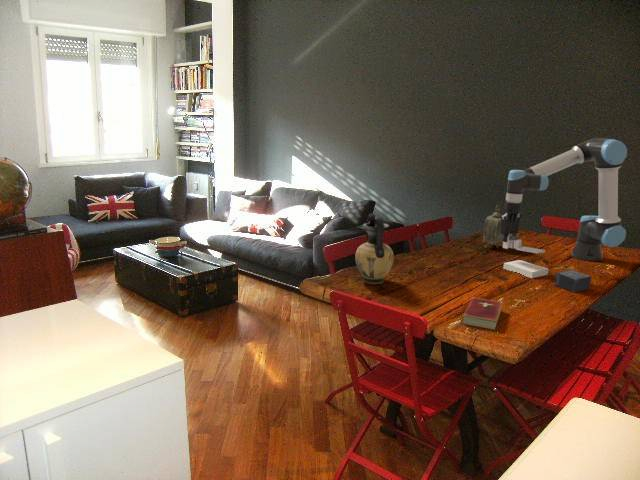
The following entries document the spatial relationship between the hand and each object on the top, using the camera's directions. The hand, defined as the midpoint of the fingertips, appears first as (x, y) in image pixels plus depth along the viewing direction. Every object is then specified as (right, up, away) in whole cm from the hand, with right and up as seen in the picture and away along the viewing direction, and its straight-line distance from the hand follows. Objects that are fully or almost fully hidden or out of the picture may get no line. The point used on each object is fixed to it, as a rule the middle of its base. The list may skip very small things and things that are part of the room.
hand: (507, 247), depth 269 cm
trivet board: (+6, -12, -7) cm, 15 cm away
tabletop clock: (+5, -1, +36) cm, 37 cm away
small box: (+17, -13, -25) cm, 32 cm away
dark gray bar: (+4, -1, -6) cm, 8 cm away
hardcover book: (-32, -26, -66) cm, 78 cm away
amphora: (-70, -15, -28) cm, 77 cm away
